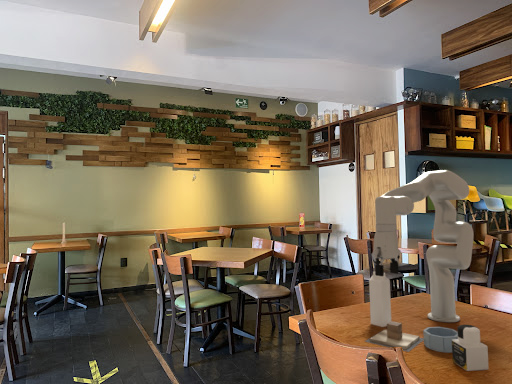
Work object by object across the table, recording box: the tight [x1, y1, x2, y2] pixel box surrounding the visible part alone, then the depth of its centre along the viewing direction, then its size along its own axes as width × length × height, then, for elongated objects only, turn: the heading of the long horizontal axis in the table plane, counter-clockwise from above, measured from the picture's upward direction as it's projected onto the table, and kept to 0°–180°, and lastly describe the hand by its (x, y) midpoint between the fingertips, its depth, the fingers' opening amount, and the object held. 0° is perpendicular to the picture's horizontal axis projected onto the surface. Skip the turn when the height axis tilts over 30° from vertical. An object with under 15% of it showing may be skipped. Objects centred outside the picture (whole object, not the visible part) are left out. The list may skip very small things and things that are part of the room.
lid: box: [370, 320, 420, 349], centre depth 139 cm, size 13×13×6 cm
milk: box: [368, 270, 392, 328], centre depth 159 cm, size 6×6×22 cm
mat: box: [364, 331, 424, 353], centre depth 139 cm, size 16×16×1 cm
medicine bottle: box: [451, 324, 490, 372], centre depth 117 cm, size 7×7×12 cm
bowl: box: [422, 326, 458, 353], centre depth 132 cm, size 11×11×6 cm
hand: (387, 274), depth 143 cm, fingers open, 9 cm apart
